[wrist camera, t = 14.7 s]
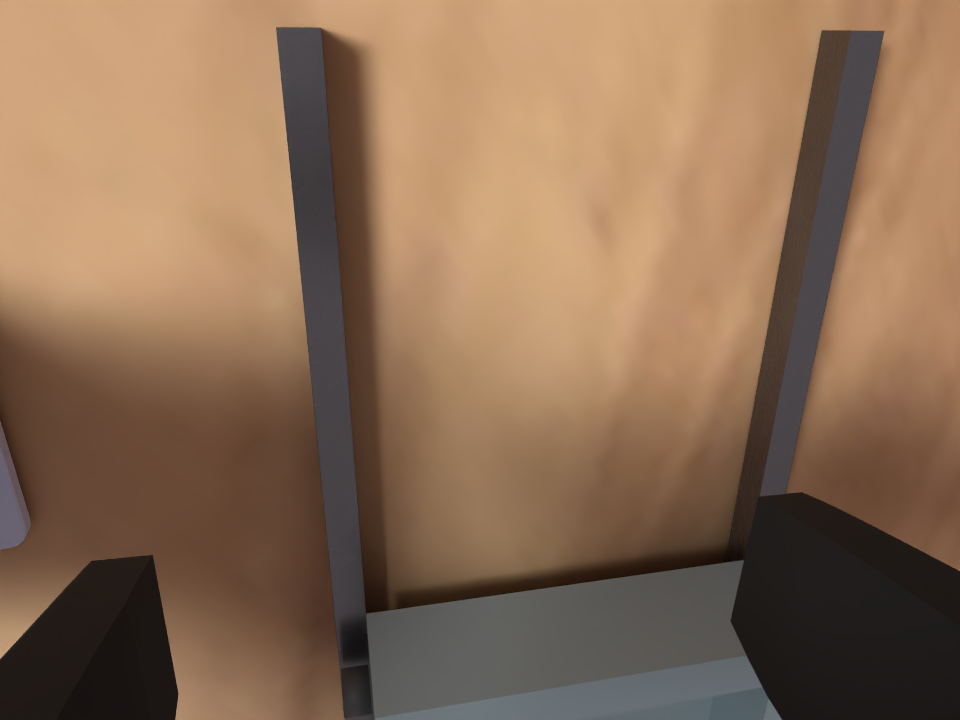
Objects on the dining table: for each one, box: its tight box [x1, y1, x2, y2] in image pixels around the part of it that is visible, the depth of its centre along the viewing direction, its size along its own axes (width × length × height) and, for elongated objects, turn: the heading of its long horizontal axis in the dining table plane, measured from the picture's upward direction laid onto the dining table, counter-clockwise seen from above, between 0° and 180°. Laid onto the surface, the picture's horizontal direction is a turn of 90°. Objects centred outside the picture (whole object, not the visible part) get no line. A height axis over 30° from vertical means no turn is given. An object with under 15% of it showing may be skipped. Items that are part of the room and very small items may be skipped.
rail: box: [276, 27, 884, 720], centre depth 21 cm, size 13×31×2 cm, turn 0°
